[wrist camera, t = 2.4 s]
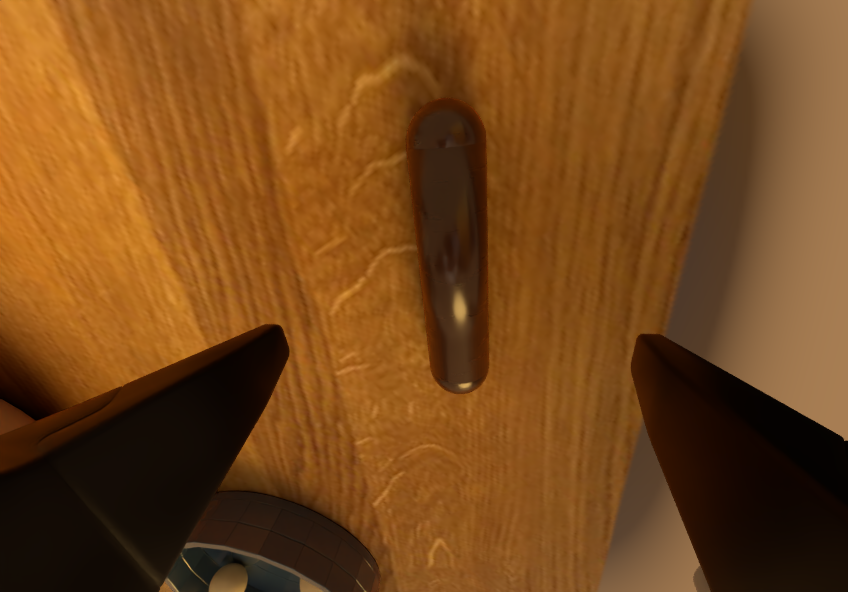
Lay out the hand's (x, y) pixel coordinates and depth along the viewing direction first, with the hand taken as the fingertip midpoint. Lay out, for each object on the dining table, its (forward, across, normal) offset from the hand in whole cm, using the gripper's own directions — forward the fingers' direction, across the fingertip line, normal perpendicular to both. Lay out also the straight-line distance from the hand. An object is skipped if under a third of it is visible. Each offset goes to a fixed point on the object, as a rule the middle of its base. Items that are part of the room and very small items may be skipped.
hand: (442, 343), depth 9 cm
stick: (+5, 0, 0) cm, 5 cm away
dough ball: (+5, +20, +28) cm, 35 cm away
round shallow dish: (+5, +16, +26) cm, 30 cm away
